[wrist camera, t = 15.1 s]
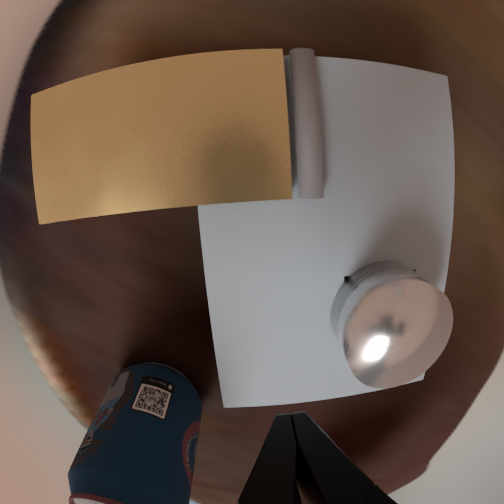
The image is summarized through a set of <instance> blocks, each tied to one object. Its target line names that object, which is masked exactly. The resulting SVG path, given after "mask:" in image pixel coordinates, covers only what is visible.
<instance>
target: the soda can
mask: <svg viewBox="0 0 504 504" xmlns="http://www.w3.org/2000/svg"><path fill="white" fill-rule="evenodd" d="M201 415H202V402H201V399H200V397H199V395H198V393H197V391H196V389H195V388H194V387H193V385H192V384H191V382H190V381H189V380H188V379H187V378H186V377H185V376H184V375H183V374H182V373H181V372H179V371H178V370H176V369H174V368H172V367H170V366H167V365H165V364H161V363H155V362H146V363H140V364H136V365H133V366H130V367H127V368H125V369H123V370H122V371H120V372H119V373H118V374H117V375H116V376H115V378H114V380H113V382H112V384H111V386H110V387H109V389H108V391H107V393H106V395H105V397H104V399H103V401H102V403H101V405H100V407H99V409H98V411H97V413H96V415H95V417H94V419H93V421H92V423H91V425H90V427H89V429H88V431H87V433H86V435H85V437H84V439H83V442H82V444H81V446H80V448H79V450H78V452H77V454H76V456H75V458H74V461H73V463H72V465H71V467H70V470H69V472H68V478H69V485H70V491H71V496H70V498H69V504H189V500H190V492H191V485H192V477H193V470H194V463H195V456H196V449H197V442H198V435H199V428H200V421H201Z"/></svg>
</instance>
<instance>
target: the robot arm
mask: <svg viewBox="0 0 504 504" xmlns="http://www.w3.org/2000/svg"><path fill="white" fill-rule="evenodd" d="M237 503H238V504H397V503H396V502H395V501H394V500H392V499H391V498H390V497H389V496H388V495H387V494H386V493H384V492H383V491H382V490H381V489H380V488H379V487H378V486H377V485H376V484H375V485H374V482H373V481H372V480H371V479H370V478H369V477H368V476H367V475H366V474H365V473H364V472H363V471H362V470H361V469H360V468H359V467H358V466H357V465H356V464H355V463H354V462H353V461H352V460H351V459H350V458H349V457H348V456H347V455H346V454H345V453H344V452H343V451H342V450H341V449H340V448H339V447H338V446H337V445H336V444H335V443H334V442H333V441H332V440H331V439H330V438H329V437H328V435H327V434H326V433H325V432H324V431H323V430H322V429H321V428H320V427H319V426H318V425H317V424H316V423H315V422H314V420H313V419H312V418H311V417H310V416H309V415H308V414H307V413H306V412H295V413H292V414H291V415H290V414H289V413H286V414H277V415H276V416H275V417H274V420H273V422H272V425H271V427H270V430H269V432H268V435H267V437H266V439H265V442H264V444H263V446H262V449H261V451H260V453H259V456H258V458H257V460H256V463H255V465H254V467H253V469H252V471H251V474H250V476H249V478H248V480H247V482H246V485H245V487H244V489H243V491H242V493H241V495H240V497H239V499H238V501H237Z"/></svg>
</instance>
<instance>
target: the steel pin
mask: <svg viewBox="0 0 504 504" xmlns="http://www.w3.org/2000/svg"><path fill="white" fill-rule="evenodd" d="M330 322H331V328H332V331H333V333H334V335H335V337H336V339H337V341H338V344H339V346H340V348H341V350H342V352H343V354H344V356H345V358H346V360H347V362H348V364H349V367H350V369H351V371H352V373H353V375H354V376H355V377H356V378H357V379H358V380H359V381H360V382H361V383H363V384H365V385H367V386H370V387H373V388H392V387H396V386H400V385H403V384H405V383H408V382H410V381H412V380H413V379H415V378H417V377H418V376H420V375H421V374H422V373H424V372H425V371H426V370H427V369H428V368H429V367H431V365H432V364H433V363H434V362H435V361H436V360H437V359H438V357H439V356H440V355H441V353H442V352H443V350H444V348H445V346H446V345H447V342H448V340H449V338H450V334H451V331H452V326H453V311H452V306H451V304H450V301H449V300H448V298H447V296H446V295H445V294H444V293H443V292H442V291H440V290H439V289H438V288H436V287H435V286H434V285H432V284H431V283H430V282H428V281H427V280H426V279H424V278H423V277H421V276H420V275H419V274H417V273H416V272H415V271H413V270H412V269H410V268H409V267H408V266H406V265H404V264H402V263H400V262H397V261H391V260H383V261H377V262H373V263H370V264H368V265H366V266H364V267H362V268H360V269H358V270H357V271H356V272H354V273H353V274H352V275H351V276H344V283H343V284H342V286H341V287H340V289H339V290H338V292H337V294H336V296H335V298H334V301H333V303H332V307H331V313H330Z"/></svg>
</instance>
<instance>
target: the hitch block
mask: <svg viewBox="0 0 504 504" xmlns="http://www.w3.org/2000/svg"><path fill="white" fill-rule="evenodd" d="M283 60H284V71H285V83H286V96H287V110H288V124H289V141H290V158H291V179H292V199H285V200H267V201H250V202H236V203H222V204H209V205H198V215H199V226H200V236H201V245H202V255H203V264H204V273H205V281H206V289H207V297H208V305H209V313H210V320H211V328H212V335H213V342H214V349H215V356H216V362H217V369H218V375H219V381H220V388H221V394H222V400H223V406H224V408H229V407H253V406H269V405H281V404H292V403H301V402H310V401H318V400H325V399H332V398H339V397H345V396H351V395H356V394H362V393H367V392H372V391H377V390H382V389H387V388H373V387H370V386H367V385H365V384H363V383H361V382H360V381H359V380H358V379H357V378H356V377H355V376H354V375H353V373H352V371H351V369H350V367H349V364H348V362H347V360H346V358H345V356H344V354H343V352H342V350H341V348H340V346H339V344H338V341H337V339H336V337H335V335H334V333H333V331H332V328H331V322H330V313H331V307H332V303H333V301H334V298H335V296H336V294H337V292H338V290H339V289H340V287H341V286H342V284H343V283H344V276H351V275H352V274H353V273H354V272H356V271H357V270H358V269H360V268H362V267H364V266H366V265H368V264H370V263H373V262H377V261H383V260H391V261H397V262H400V263H402V264H404V265H406V266H408V267H409V268H410V269H412V270H413V271H415V272H416V273H417V274H419V275H420V276H421V277H423V278H424V279H426V280H427V281H428V282H430V283H431V284H432V285H434V286H435V287H436V288H438V289H439V290H440V291H442V292H443V293H444V290H445V284H446V278H447V271H448V264H449V256H450V248H451V238H452V227H453V212H454V185H455V162H454V135H453V121H452V110H451V100H450V92H449V85H448V78H447V76H445V75H441V74H437V73H433V72H428V71H424V70H419V69H414V68H409V67H404V66H398V65H393V64H386V63H380V62H373V61H365V60H356V59H346V58H334V57H319V56H315V55H314V50H312V49H310V48H295V49H292V50H290V51H289V56H283ZM424 375H425V372H424V373H422V374H421V375H420V376H418V377H417V378H415V379H413V380H412V381H410V382H408V383H412V382H416V381H420V380H423V378H424ZM408 383H405V384H408ZM403 385H404V384H403Z"/></svg>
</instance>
